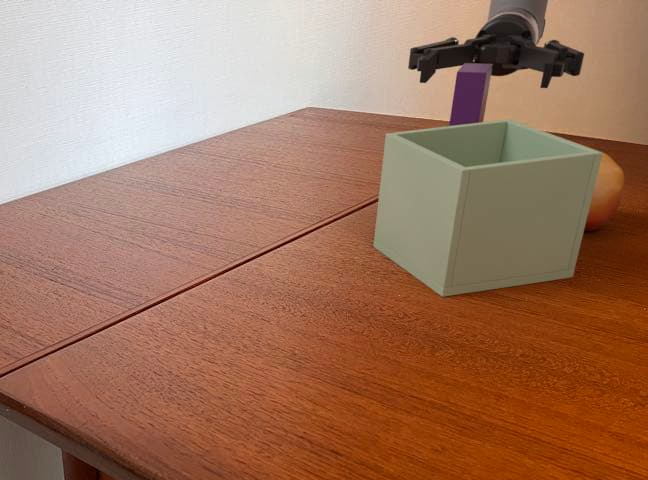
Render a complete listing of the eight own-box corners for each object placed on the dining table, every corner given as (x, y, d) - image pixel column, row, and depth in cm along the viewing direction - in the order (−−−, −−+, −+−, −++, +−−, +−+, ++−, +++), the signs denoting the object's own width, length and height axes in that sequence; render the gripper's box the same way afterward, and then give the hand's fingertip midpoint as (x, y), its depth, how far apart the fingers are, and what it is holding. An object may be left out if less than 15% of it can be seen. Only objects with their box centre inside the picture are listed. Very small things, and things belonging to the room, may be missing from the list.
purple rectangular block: (440, 181, 99) (457, 71, 92) (448, 169, 102) (464, 63, 96) (468, 183, 97) (486, 72, 91) (474, 171, 101) (492, 63, 95)
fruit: (631, 200, 86) (640, 140, 79) (603, 260, 83) (610, 204, 77) (546, 188, 90) (547, 130, 84) (517, 244, 88) (517, 190, 82)
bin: (489, 230, 85) (509, 118, 79) (573, 277, 74) (603, 152, 69) (373, 246, 83) (385, 133, 77) (442, 297, 72) (462, 170, 67)
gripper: (600, 75, 114) (593, 112, 99) (408, 68, 125) (373, 100, 109) (615, 13, 110) (609, 42, 95) (415, 12, 121) (380, 37, 105)
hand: (483, 73), depth 102 cm, fingers open, 13 cm apart
